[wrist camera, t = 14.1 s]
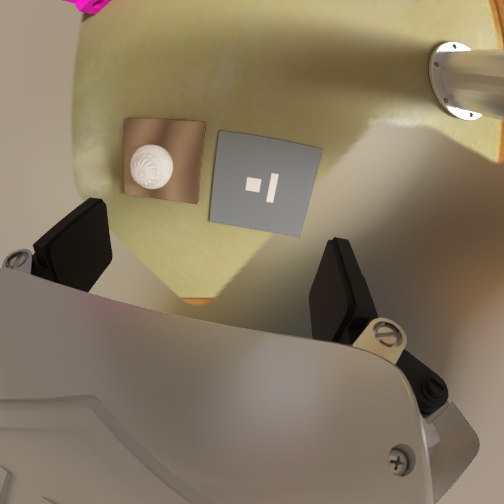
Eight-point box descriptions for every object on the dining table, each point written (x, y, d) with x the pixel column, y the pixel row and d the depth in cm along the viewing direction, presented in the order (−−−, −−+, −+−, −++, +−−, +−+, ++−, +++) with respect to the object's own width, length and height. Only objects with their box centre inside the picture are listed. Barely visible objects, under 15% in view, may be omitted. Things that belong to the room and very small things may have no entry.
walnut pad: (206, 121, 34) (203, 122, 33) (198, 201, 40) (196, 204, 39) (128, 117, 34) (124, 118, 33) (127, 191, 40) (124, 194, 39)
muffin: (135, 150, 35) (110, 164, 30) (169, 132, 34) (148, 141, 28) (153, 186, 38) (132, 205, 32) (188, 170, 37) (171, 187, 31)
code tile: (322, 148, 35) (322, 149, 34) (299, 236, 42) (299, 237, 42) (219, 130, 34) (219, 130, 34) (209, 220, 42) (209, 221, 42)
